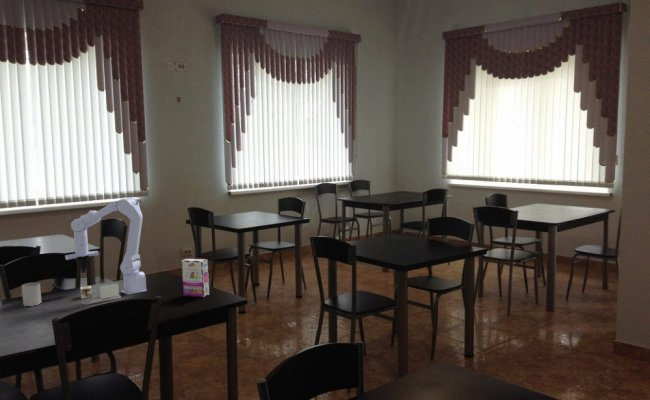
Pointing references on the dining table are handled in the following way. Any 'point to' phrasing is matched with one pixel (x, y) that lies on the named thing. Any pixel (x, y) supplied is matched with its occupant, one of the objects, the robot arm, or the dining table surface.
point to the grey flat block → (109, 291)
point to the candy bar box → (195, 277)
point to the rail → (100, 300)
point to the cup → (31, 294)
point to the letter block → (86, 292)
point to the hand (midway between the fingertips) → (83, 272)
